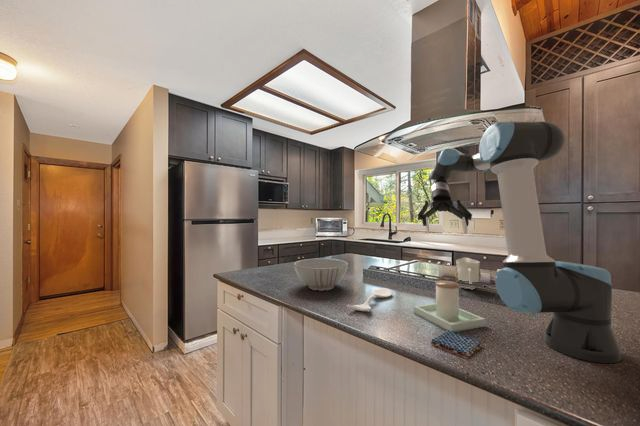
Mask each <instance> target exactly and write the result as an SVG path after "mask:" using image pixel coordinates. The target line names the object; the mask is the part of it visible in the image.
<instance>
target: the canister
mask: <svg viewBox="0 0 640 426" xmlns="http://www.w3.org/2000/svg"><path fill="white" fill-rule="evenodd" d="M459 289H460V287H459V284H458V283H457V281H456V282H455V281H454V280H453V281H451V280H436V281H435V303H436V316H438V317H440V318H442V319H444V320H446V321H449V322H454V321H458V320H459V308H460V307H459V306H460V305H459V303H460V302H459V300H460V299H459V297H460V295H459V293H460V292H459Z"/></svg>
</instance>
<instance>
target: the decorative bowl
mask: <svg viewBox="0 0 640 426" xmlns="http://www.w3.org/2000/svg"><path fill="white" fill-rule="evenodd" d="M348 267H349V263H348V261H345V260H342V259H337V258H309V259H308V258H307V259H301V260H297V261H295V262H294V263H293V268H294V270H295V272H296V275H297V277H298V278H299V279H300V281H301V282H302V283H304V285H306V286H308V289H309V288H310V289H309V290H311V289H312V291H316V290H319V292H321V291H322V292H323V291H324V290H326V291H331V290H333V289H334V287H335V286H336V285H337V284H339V283H340V282H341V281H342V280H343V278H344V276H345V274H346V273H347V270H348ZM324 292H325V291H324Z"/></svg>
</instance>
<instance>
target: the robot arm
mask: <svg viewBox="0 0 640 426" xmlns="http://www.w3.org/2000/svg"><path fill="white" fill-rule="evenodd" d="M565 143H566V136H565V133H564V130H563V129H562V128H561V127H559V126H558V125H557V124H555V123H552V122H549V121H513V120H508V121H497V122H494V123H493V124H491V125H490V126H488V127H487V129H485V131H484V133H483V135H482V136H481V138H480V141H479V145H478V146H479V147H478V152H477V153H474V154H460V153H459V151H458V150H456V149H452V148H444V149H443V150H442V151H441V152H440V154H439V155H438V157H437V160H436V163H435V166H434V168H432V170H430V171H429V173H428V180H429V181H428V182H429V187H430V188H429V189H430V195H431V201H428V200H425V201H424V205H423V206H422V208H421V210H420V211H419V213H418V214H417V220H418V221H421V222H422V226H423V227H426V228H425V230H426V234H429V233H430V224H429V223H430V222H429V218H430V217H431V216H433V214H435V213H437V212H449V213H451V214H453V215H455V217H457V218H459V219H460V220H461V226H462V230H463V234H464V235H467V233H468V227H469V224H470V223H469V222H470V221H471V220H472V218H473V213H471V212H470V211H469V210H468V209H467V208H466V207H465V206H464V205H463V204H462V203H461V201H460V199H457V200H456V201H453V200H452V196H451V192H450V188H449V179H450V177H451V175H452V173H464V172H465V173H466V172H467V173H468V172H469V173H484V172H488V171H489V170H490V171H491V173H493V174H495V175H496V176H497V182H498V191H499V198H500V205H501V206H500V207H501V211H502V213H501V214H502V219H503V220H502V221H503V226H504V234H505V242H506V248H507V249H506V250H507V257H505V259H504V260H502V268H501V269H499V270H497V272H496V275H495V278H494V281H495V288H496V291H497V293H498V295H499V297H500V299H501V301H502V302H503V303H504V304H505V305H506V306H507V307H508V308H510V309H511V310H512V311H515V312H517V313H528V314H533V315H534V314H539V313H540V314H541V313H544V314H545V313H552V317H551V319H550V321H549V323H548V326H547V327H546V329H545V332H544V342H545V343H546V345H548V346H549V347H550V348H551V349H553V350H555V351H558V352H559V353H561V354H564V355H566V356H570V357H572V358H576V359H580V360H583V361H588V362H593V363H597V364H598V363H599V364H600V363H601V364H617V363H619V362H620V361H621V360H622V348H621V347H620V344H619V342H618V340H617V337H616V335H615V333H614V330H613V328H612V297H613V296H612V292H613V291H612V290H613V284H612V275H611V273H610V272H609V270H607V269H605V268H602V267H600V266H598V267H597V266H593V265H588V264H582V263H576V262H569V261H568V262H567V261H562V260H555V259H554V258H552V257H550V256H549V255H548V254H547V249H546V243H545V237H544V230H543V223H542V217H541V212H540V205H539V198H538V194H537V193H538V192H537V186H536V180H535V175H534V168H535V167H536V166H537V165H538V164H539V163H540V162H545V161H549V160H551V159H553V158H555V157H556V156H557V155H559V154H560V153H561V151H562V150H563V148H564V147H565ZM429 207H431V208H430V209H428V208H429ZM427 210H428V211H427Z"/></svg>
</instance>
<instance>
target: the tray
mask: <svg viewBox="0 0 640 426" xmlns="http://www.w3.org/2000/svg"><path fill="white" fill-rule="evenodd" d="M413 314H414V315H417V316H419V318H420V317H421V318H422V319H424V320H426V321H428V322H429V323H431V324H433V325H436V326H437V327H440V328H441V329H443V330H444V331H448V330H449V332H452V333H453V332H455V333H458V332H459V333H460V332H463V331H469V330H473V329H474V330H475V329H479V328H484V327H486V319H485V318H484V317H482V316H479V315H477V314H474V313H473V312H469V311H467V310H465V309H462V308H460V307H459V320H458V321H454V322H449V321H446V320H444V319H442V318H440V317H438V316H436V302H433V303H427V304H420V305H413Z"/></svg>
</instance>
